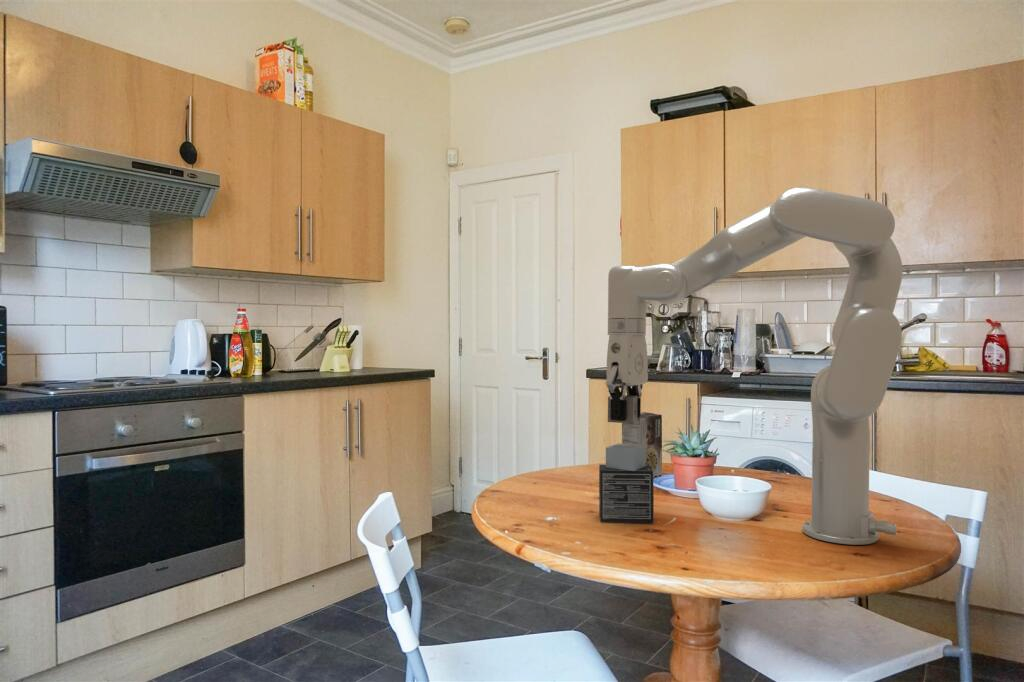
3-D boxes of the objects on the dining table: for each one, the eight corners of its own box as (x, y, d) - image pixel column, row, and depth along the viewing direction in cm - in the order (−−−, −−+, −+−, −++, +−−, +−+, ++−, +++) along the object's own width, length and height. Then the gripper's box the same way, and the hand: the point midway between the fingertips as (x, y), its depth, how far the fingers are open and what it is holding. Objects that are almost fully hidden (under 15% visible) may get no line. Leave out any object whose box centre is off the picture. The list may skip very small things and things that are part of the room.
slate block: (645, 465, 136) (646, 446, 136) (633, 470, 131) (634, 450, 131) (618, 462, 139) (618, 443, 139) (605, 467, 134) (605, 447, 134)
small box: (650, 515, 138) (651, 464, 138) (654, 524, 132) (654, 470, 132) (598, 513, 139) (599, 462, 139) (599, 522, 133) (600, 469, 133)
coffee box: (643, 472, 181) (643, 411, 181) (662, 476, 176) (663, 414, 176) (620, 476, 175) (620, 414, 175) (639, 480, 170) (640, 416, 170)
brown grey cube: (607, 422, 134) (607, 396, 134) (613, 419, 139) (613, 394, 139) (632, 423, 132) (633, 397, 132) (637, 420, 137) (637, 395, 137)
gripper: (625, 327, 126) (623, 424, 126) (661, 328, 140) (660, 415, 140) (589, 327, 130) (588, 421, 130) (628, 328, 144) (627, 413, 144)
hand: (625, 417), depth 135 cm, fingers closed on brown grey cube, 5 cm apart
